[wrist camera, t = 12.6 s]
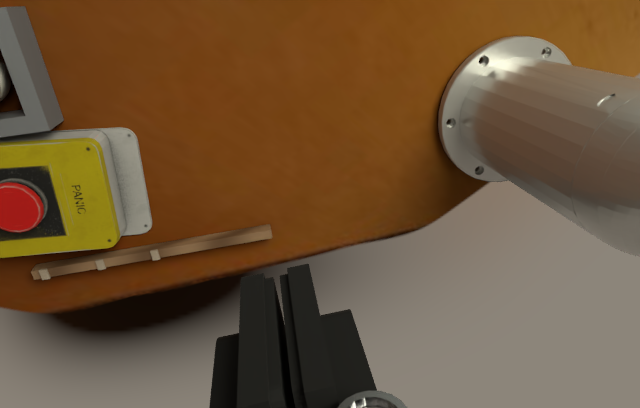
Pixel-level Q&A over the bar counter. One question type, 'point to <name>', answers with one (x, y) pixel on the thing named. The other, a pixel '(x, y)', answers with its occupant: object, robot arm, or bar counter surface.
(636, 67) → the bar counter surface
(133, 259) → the rail
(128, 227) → the emergency button
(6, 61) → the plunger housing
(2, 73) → the plunger
